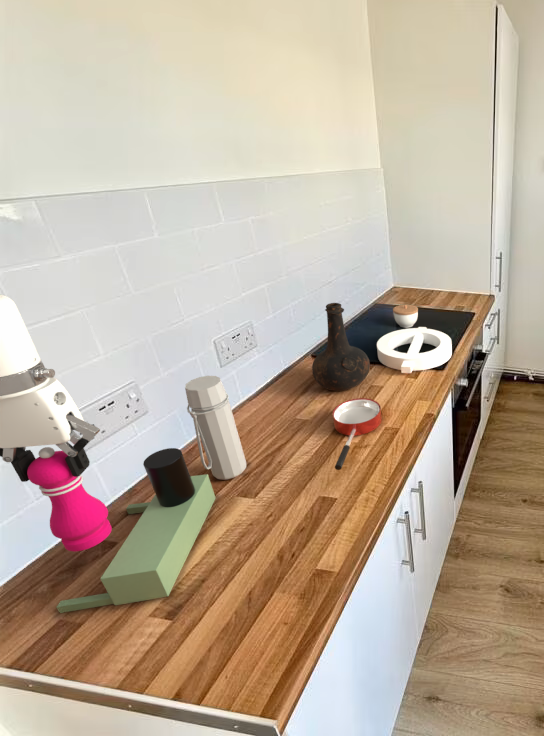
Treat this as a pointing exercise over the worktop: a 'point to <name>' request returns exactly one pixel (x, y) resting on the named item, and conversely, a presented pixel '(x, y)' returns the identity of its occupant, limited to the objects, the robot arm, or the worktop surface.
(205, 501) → the riser
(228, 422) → the water bottle
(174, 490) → the spice tin
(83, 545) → the pepper mill
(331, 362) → the glass bottle
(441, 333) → the white circle with bar
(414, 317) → the trinket box
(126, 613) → the worktop surface
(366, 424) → the frying pan
